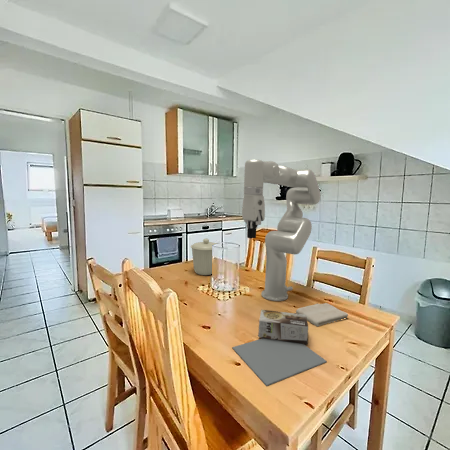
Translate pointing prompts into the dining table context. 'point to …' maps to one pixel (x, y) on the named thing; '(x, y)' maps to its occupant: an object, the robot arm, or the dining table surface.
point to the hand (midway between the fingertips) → (251, 237)
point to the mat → (277, 358)
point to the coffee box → (283, 326)
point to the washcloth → (321, 313)
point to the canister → (202, 257)
